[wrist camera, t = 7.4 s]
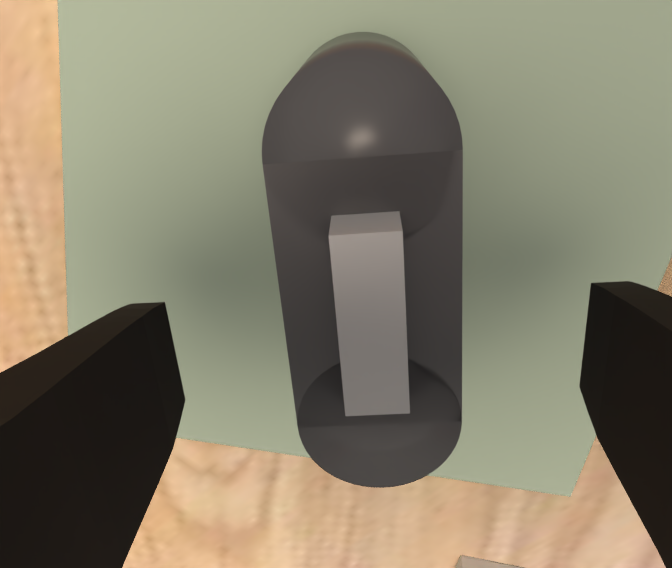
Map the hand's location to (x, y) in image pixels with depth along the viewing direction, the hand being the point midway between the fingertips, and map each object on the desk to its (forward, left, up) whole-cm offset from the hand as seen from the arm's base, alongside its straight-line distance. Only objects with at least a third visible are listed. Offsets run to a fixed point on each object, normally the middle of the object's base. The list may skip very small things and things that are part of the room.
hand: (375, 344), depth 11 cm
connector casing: (0, 0, -6) cm, 6 cm away
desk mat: (0, 0, -7) cm, 7 cm away
